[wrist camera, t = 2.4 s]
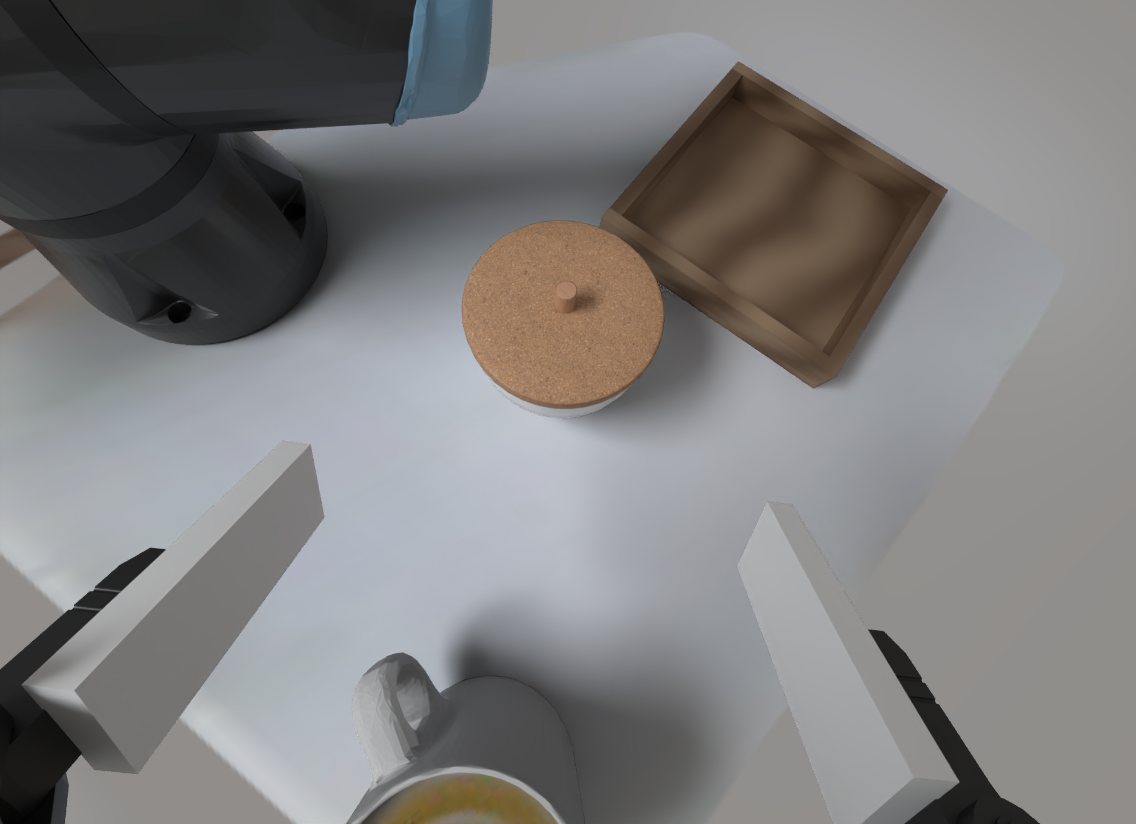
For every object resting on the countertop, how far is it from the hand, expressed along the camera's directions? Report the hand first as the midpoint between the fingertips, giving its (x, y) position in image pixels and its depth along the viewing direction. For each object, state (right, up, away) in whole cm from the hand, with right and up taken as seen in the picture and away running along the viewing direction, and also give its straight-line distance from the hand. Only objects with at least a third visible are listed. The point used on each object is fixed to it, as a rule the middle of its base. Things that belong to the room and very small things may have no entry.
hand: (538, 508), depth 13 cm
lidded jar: (0, +6, +18) cm, 19 cm away
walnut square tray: (+16, +17, +22) cm, 32 cm away
